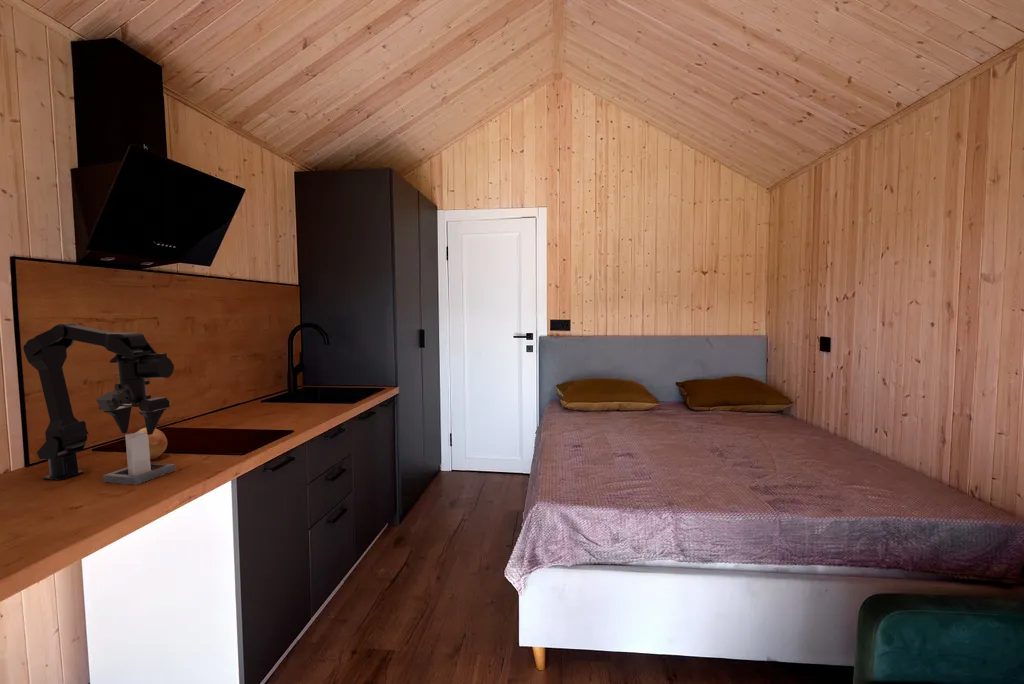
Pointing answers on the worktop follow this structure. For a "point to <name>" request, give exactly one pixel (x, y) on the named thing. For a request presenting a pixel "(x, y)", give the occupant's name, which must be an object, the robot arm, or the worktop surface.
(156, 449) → the onion
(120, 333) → the robot arm
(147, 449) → the skincare box
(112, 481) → the silver metal square frame
